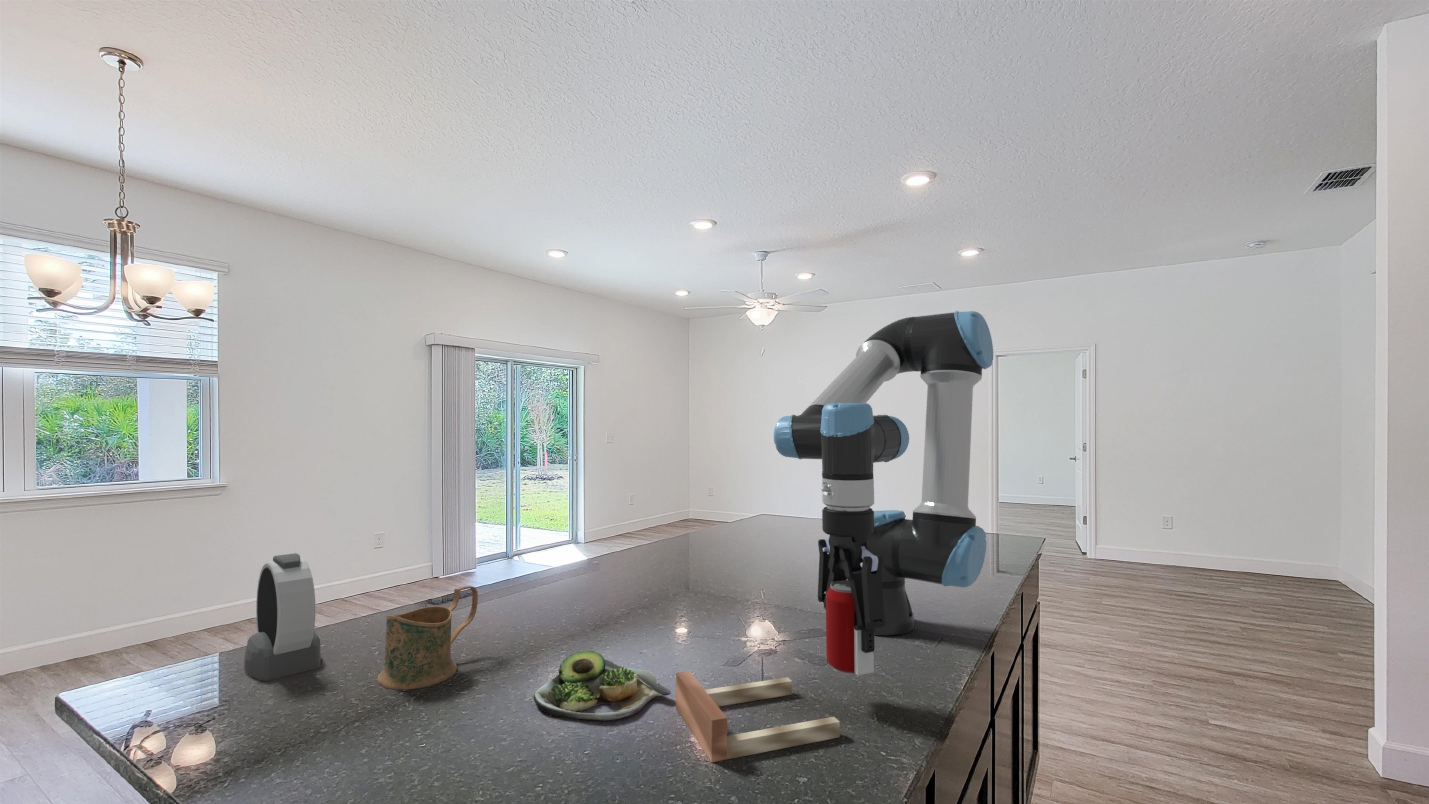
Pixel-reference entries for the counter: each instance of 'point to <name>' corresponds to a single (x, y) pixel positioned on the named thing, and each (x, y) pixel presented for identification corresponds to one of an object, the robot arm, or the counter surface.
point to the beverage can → (840, 626)
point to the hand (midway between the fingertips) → (849, 662)
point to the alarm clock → (284, 621)
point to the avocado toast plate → (597, 688)
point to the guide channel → (713, 739)
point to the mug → (422, 645)
